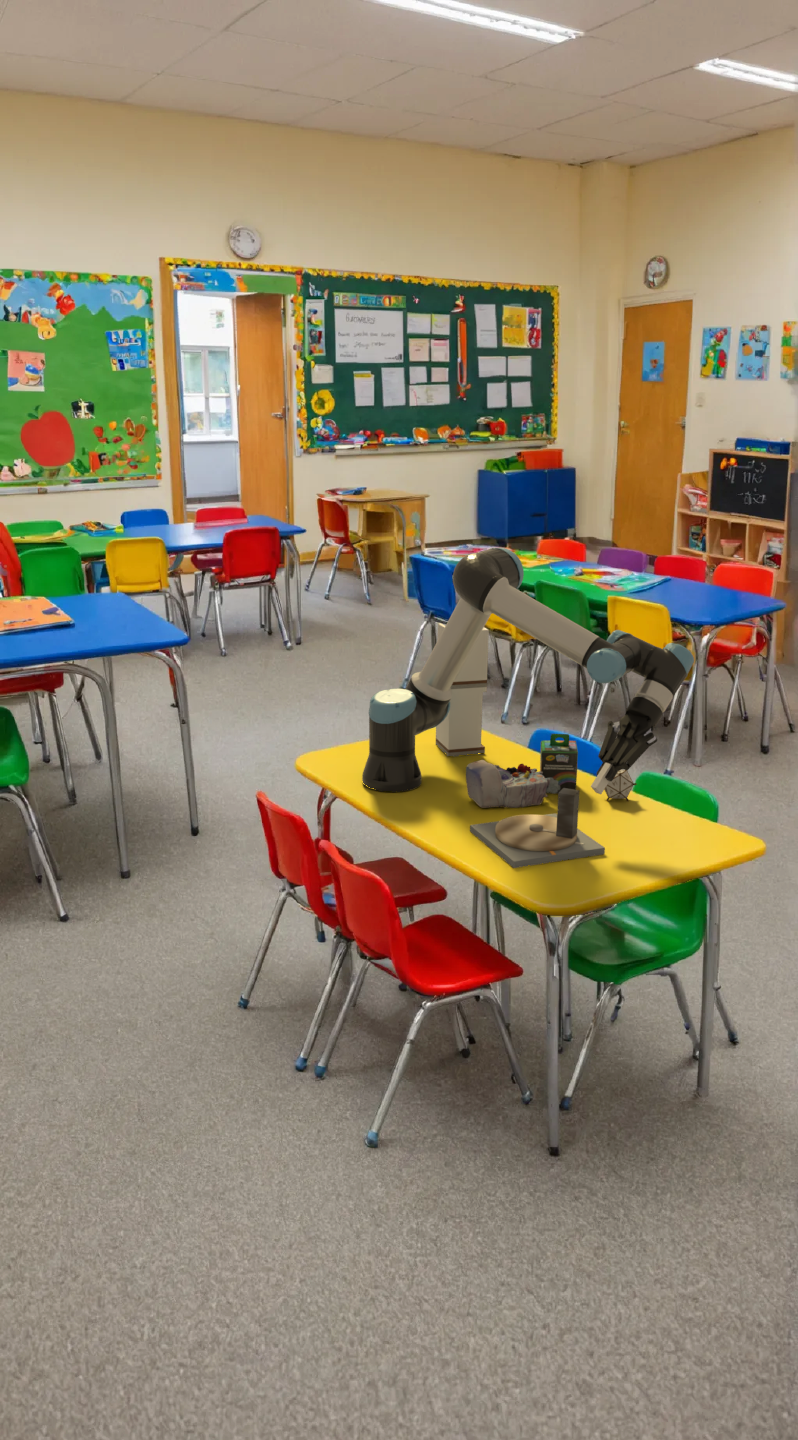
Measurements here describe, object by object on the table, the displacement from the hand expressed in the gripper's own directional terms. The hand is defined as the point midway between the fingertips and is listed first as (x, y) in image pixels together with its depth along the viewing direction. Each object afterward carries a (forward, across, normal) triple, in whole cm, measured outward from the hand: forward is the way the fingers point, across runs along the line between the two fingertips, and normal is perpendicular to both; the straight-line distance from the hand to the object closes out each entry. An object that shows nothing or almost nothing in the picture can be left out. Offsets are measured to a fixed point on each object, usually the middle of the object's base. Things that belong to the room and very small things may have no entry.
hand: (595, 790), depth 247 cm
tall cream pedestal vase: (-7, +68, -24) cm, 72 cm away
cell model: (+7, +30, -10) cm, 32 cm away
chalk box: (-5, +29, -22) cm, 37 cm away
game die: (-9, +14, -26) cm, 31 cm away
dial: (+15, +7, +1) cm, 17 cm away
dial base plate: (+16, +7, -1) cm, 18 cm away
